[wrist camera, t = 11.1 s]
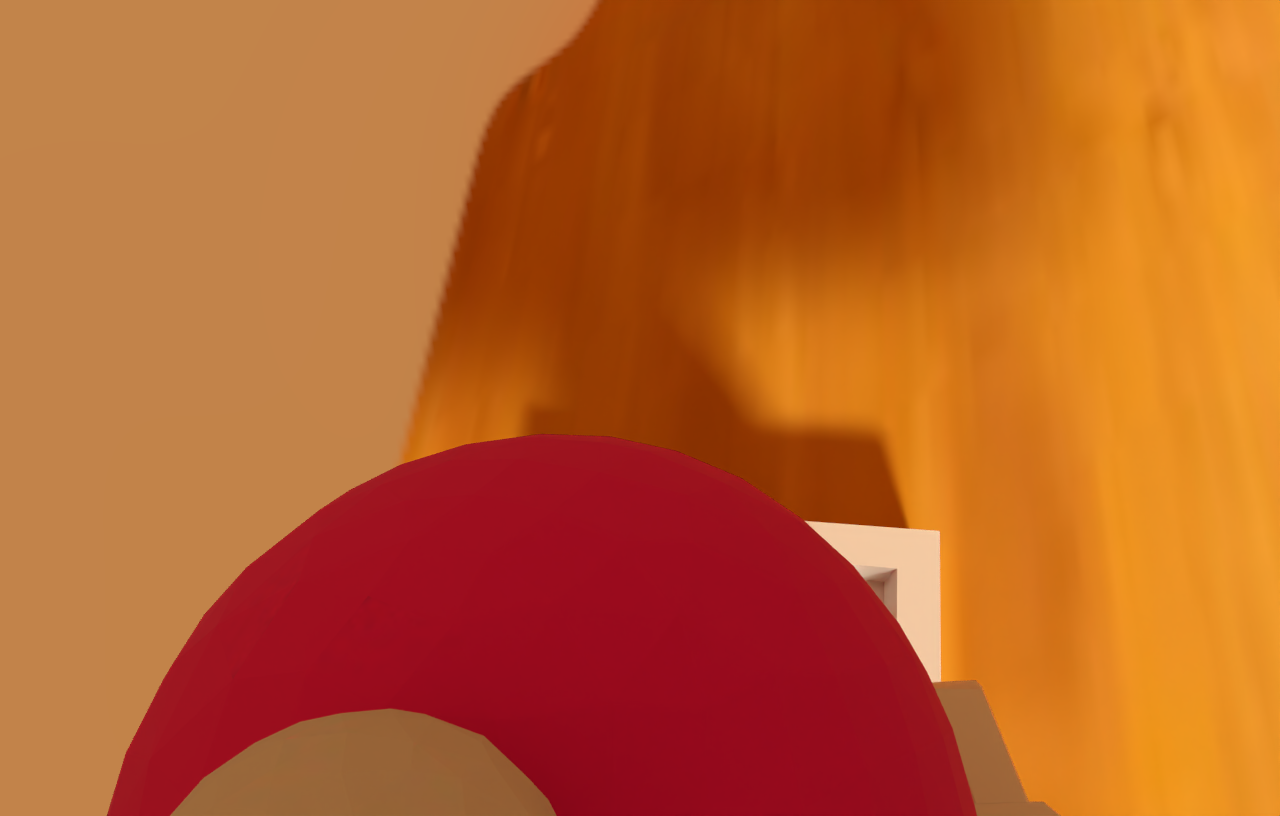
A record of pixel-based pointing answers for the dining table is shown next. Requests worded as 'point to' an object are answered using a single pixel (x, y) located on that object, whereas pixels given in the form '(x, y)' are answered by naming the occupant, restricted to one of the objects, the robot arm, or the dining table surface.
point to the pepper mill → (547, 657)
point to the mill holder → (898, 578)
